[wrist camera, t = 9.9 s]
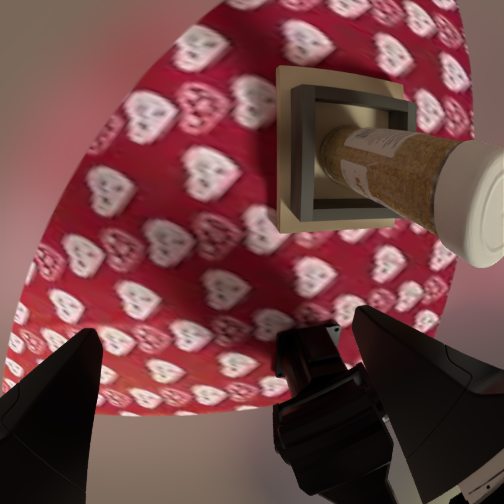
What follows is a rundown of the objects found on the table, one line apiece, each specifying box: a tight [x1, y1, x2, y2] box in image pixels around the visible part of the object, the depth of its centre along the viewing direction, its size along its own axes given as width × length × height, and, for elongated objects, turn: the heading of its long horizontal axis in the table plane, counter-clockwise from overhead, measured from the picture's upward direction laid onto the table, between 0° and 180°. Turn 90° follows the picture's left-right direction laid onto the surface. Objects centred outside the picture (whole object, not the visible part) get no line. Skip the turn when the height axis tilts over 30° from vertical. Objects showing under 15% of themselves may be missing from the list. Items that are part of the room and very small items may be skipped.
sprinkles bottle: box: [320, 125, 504, 268], centre depth 13 cm, size 5×5×14 cm
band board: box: [276, 65, 416, 234], centre depth 18 cm, size 12×10×4 cm
